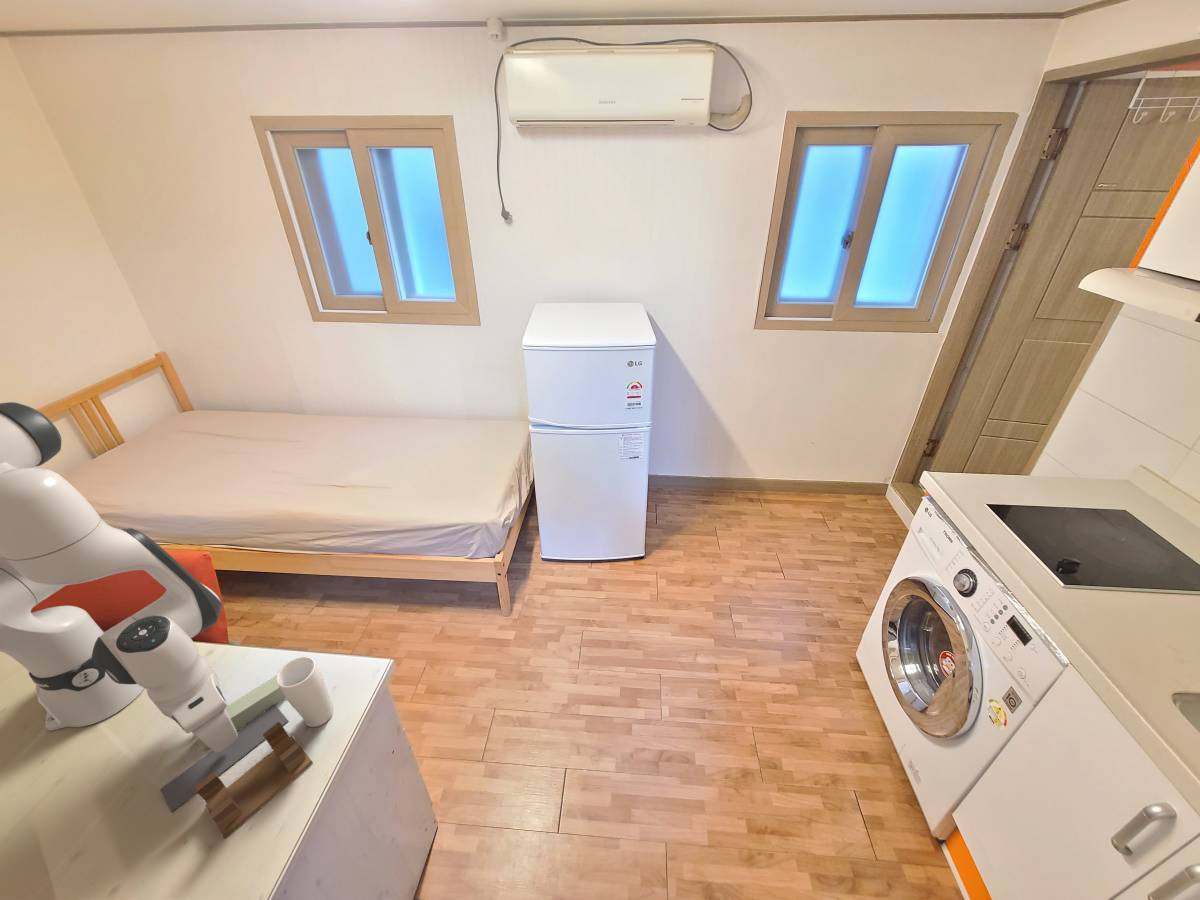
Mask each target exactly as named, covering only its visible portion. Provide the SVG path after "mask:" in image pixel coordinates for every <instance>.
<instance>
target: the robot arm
mask: <svg viewBox="0 0 1200 900" xmlns="http://www.w3.org/2000/svg"><path fill="white" fill-rule="evenodd" d="M61 449H62V436H61V434H60V432H59V430H58V428H57V427H56V426H55V424H54V423H53V421H51V420H50V419H49V418H48V417H47V416H45V414H43V413H42V412H40V411H39V410H37V409H36V408H33V407H31V406H28V405H25V404H22V403H18V402H14V401H13V402H11V401H10V402H0V652H1V653H4V654H6V655H8V656H10V657H11V659H14V660H15V661H17V663H19V664H20V665H21V666H22V667H24V668H25V669H26V670H27V671H28V676H29V677H30V678H31V681H33V683H34V684H35V690H36V692H37V693H36V699H37V701H38V703H39V704H40V705H41V706H42V707H43V708H44V709H45V710H46V711H45V713H46V714H45V723H44V727H45V728H46V730H47V731H52V732H53V731H55V730H58V729H59V730H60V729H63V728H72V727H73V728H81V727H85V726H90V725H93V724H96V723H99V722H101V721H104V720H106V719H108V718H109V717H112V716H113V715H115V714H117V713H118V712H119V711H121V710H123V709H124V708H126V707H127V706H128V705H130V704H131V703H132V702H133V701H135V699H136V698H137V697H138V696H139V695H140V694H141V693H142V691H143V690H144V689H145V690H146V693H147V696H148V698H149V699H150V701H151V702H152V703H153V704H154V705H155V706H156V708H157V709H158V710H159V711H160V713H162V714H163V716H165V717H168V718H169V719H171V720H172V721H175V722H176V723H177V724H178V726H179V727H180V728H181V729H182V730H183V731H184V732H185V733H186V734H190V733H192V734H193V736H194V735H195V736H196V737H197V738H198V739H200V740H201V741H202V742H203V743H204V744H205V745H206V746H208V747H209V748H208V749H210V750H211V751H214V752H216V753H219V752H221V751H223V750H224V749H227V748H228V747H230V746H231V745H232V744H233V743H234V742H235V741H236V740H237V738H238V733H237V732H238V730H236V729H235V727H234V725H233V722H232V720H231V718H230V716H229V714H228V712H227V710H226V708H225V707H227V706H228V703H227V700H226V698H225V697H224V695H223V693H222V691H221V686H220V685H221V684H220V679H219V676H218V675H217V672H215V670H214V669H213V667H212V666H211V665H210V663H209V662H208V660H207V659H206V658H205V657H203V656H201V655H200V654H199V649H198V646H197V645H196V644H195V642H194V641H193V639H192V638H194V637H195V636H197V635H199V634H201V633H203V632H204V631H206V630H207V629H209V628H210V627H212V626H214V625H216V624H217V623H218V620H219V618H220V615H221V612H222V608H223V604H222V602H221V600H220V597H219V596H218V595H217V594H216V593H215V592H214V591H213V590H212V589H211V588H209V587H208V586H206V584H203V583H201V582H200V581H199V580H197V578H195V577H194V576H193V575H192V574H191V573H190V572H189V571H188V570H187V569H185V567H183V565H181V564H180V562H178V561H177V560H176V559H175V558H174V557H173V556H171V555H170V554H169V553H168V552H167V551H166V550H165V549H164V548H163V547H162V546H160V545H159V544H158V543H157V542H155V541H154V540H153V539H152V538H151V537H149V536H148V535H146V534H144V533H143V532H141V531H139V530H137V529H134V528H131V527H130V528H122V529H121V528H116V527H115V526H111V525H110V524H108V523H107V522H105V521H104V519H102V517H101V516H100V515H99V513H98V512H97V511H96V509H95V507H93V505H92V504H91V503H90V502H89V501H88V500H87V499H86V498H85V496H84V495H83V494H82V493H81V492H80V491H79V490H78V489H76V488H75V486H73V485H72V484H71V483H70V482H69V481H68V480H66V479H65V478H64V477H63V476H61V474H59V473H58V472H55V471H54V470H51V469H47V468H41V467H40V466H42V465H44V464H46V463H47V462H48V461H50V460H51V459H53V458H54V457H56V455H57V454H59V452H60V451H61ZM131 571H132V572H133V571H145V572H146V573H147V574H149V576H151V577H152V578H153V579H154V580H156V581H157V582H158V583H159V584H160V585H161V586H163V587H164V588H165V589H166V590H165V592H164V593H163V594H162V596H160V597H158V599H156V600H155V601H153V602H151V603H150V604H148V605H146V606H144V607H143V608H142V609H140V610H138V611H137V612H135V613H134V614H132V615H131V616H128V617H127V618H125V619H124V620H122V621H120V622H118V623H117V624H115V625H114V626H112V627H110V628H109V629H107V630H104V629H102V628H101V627H100V626H99V625H98V624H97V623H96V622H95V620H94V619H93V618H92V616H91V615H90V614H89V613H88V612H87V611H86V610H85V609H83V608H81V607H78V606H74V605H59V606H52V607H47V608H44V609H40V610H37V611H34V612H32V609H33V608H34V607H36V606H37V605H38V604H40V603H41V602H43V601H44V600H46V599H47V598H49V597H50V596H52V595H53V594H54V595H55V593H56V592H58V591H60V590H62V588H65V587H66V586H69V585H77V584H78V585H79V584H83V583H89V582H92V581H96V580H99V579H102V578H106V577H109V576H113V575H116V574H121V573H126V572H131Z"/></svg>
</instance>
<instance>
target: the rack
mask: <svg viewBox="0 0 1200 900" xmlns="http://www.w3.org/2000/svg"><path fill="white" fill-rule="evenodd" d="M262 735H263V736H264V738H265V739H266V740H265V741H266V742H267V743H268V745H269V746H270V747H271V748H272V751H271V752H269V753H268V754H266V756H264V757H263V758H262V759H261V760H259V761H258V762H257V763H256V764H255V765H253V766H252V767H250V769H248V770H247V771H246V772H244V773H243V774H242V775H241V776H239V777H238V778H237V779H236V780H235V781H233V782H232V783H231V784H230V785H228V786H227V787H226V785H225V784H224V782H223V781H222V779H221V778H220V777H219V776H217V775H216V774H215V773H214V772H213V773H212V774H210V775H209V776H208V777H206V778H205V779H204V780H203V781H201V782H200V783H199V784H197V785H196V786H195V787H194V788H195V790H196V791H197V794H199V796H200V797H201V798H202V799H203V800H204V802H205V803H206V804H205V805H204V806H205V808H206V809H207V811H208V814H209V816H210V818H211V820H212V821H213V822H214V823H215V825H216V827H217V829H218V831H219V832H220V834H221V835H222V837H223V839H227V838H228V837H229V836H230V835H232V833H234V832H235V831H236V830H237V829H238V828H239V827H241V826H242V825H243V824H244V823H246V821H248V820H249V819H250V818H251V817H252V816H254V814H255V813H257V812H258V811H259V810H260V809H261V808H262V807H264V806H265V805H266V804H267V803H268V802H269V801H271V800H272V799H273V798H274V797H275V796H277V794H279V793H280V792H281V791H282V790H283V789H285V788H286V787H287V786H288V785H290V783H291V782H293V781H294V780H295V779H296V778H297V777H299V776H300V775H301V773H303V772H304V771H305V770H306V769H308V767H310V766H312V764H313V760H312V759H311V758H310V756H309V755H308V754H307V753H306V752H305V750H304V749H303V747H302V746H301V745H300V743H299V742H298V741H297V740H296V739H295V737H294V736H293V735H291V736H289V734H288V732H287V731H286V729H285V728H284V726H282V725H281V723H280V722H278V723H276V724H275V725H274V726H273V727H271V728H270V729H269V730H267V731H266V732H265V733H264V734H262Z"/></svg>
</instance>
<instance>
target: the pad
mask: <svg viewBox="0 0 1200 900" xmlns="http://www.w3.org/2000/svg"><path fill="white" fill-rule="evenodd" d="M278 722H280V723H281V725H282V726H283V727H284V726H285V725H286V724H288V723H289V720H288V718H287V717H286V716H285V714H283V712H282V711H281V709H280V708H279V707H278V706H277V704H274V705H273V706H271V707H270V708H269V709H267V710H266V711H265V712H263V713H262V714H260V715H258V716H257V717H255V718H254V719H252V720H251V721H249V722H248V723H246V724H245V725H244V726H242V727H241V729H240V728H239V729H238V730H237V733H238V738H237V740H236V741H235V742H234V743H233V744H232V745H231V746H230V747H228V748H227V749H224V750H223V751H221V752H219V753H216V752H214V751H212V750H211V751H210V752H208V753H207V754H206V755H204V756H203V757H202V758H200V759H199V760H198V761H196V762H195V763H193V764H192V765H190V766H189V767H188V768H187V769H185V770H184V771H182V772H181V773H180V774H178V775H177V776H176V777H174V778H173V779H172V780H170V781H169V782H168V783H167V784H166V785H164V786H162V787H161V788H160V789H159V790H160V792H161V794H162V796H163V798H164V800H165V802H166V804H167V806H168V808H169V811H170V812H171V813H174V812H175V811H176V810H177V809H179V808H181V807H182V806H183V805H184V804H186V803H187V802H188V801H189V800H190V799H192V798H193V797H194V796H196V795H197V794H198V793H197V791H196V790H195V788H194V787H195V786H196V785H197V784H199V783H200V782H201V781H203V780H204V779H205V778H206V777H208V776H209V775H210V774H212V773H213V772H214V773H215V774H216V775H217V776H218V777H219V776H221V775H222V774H224V773H225V772H226V771H227V770H229V769H230V768H231V767H233V766H234V765H235V764H236V763H238V762H239V761H241V760H242V759H243V758H244V757H245V756H247V755H248V754H249V753H250V752H252V751H253V750H254V749H256V748H257V747H259V745H261V744H262V743H263V742H264V741H267V740H266V739H265V738H264V736H263V735H262V734H264V733H265V732H266V731H267V730H269V729H270V728H271V727H273V726H274V725H275V724H276V723H278Z"/></svg>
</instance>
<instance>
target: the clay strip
mask: <svg viewBox="0 0 1200 900" xmlns="http://www.w3.org/2000/svg"><path fill="white" fill-rule="evenodd" d="M277 675H278V674H277ZM277 675H275V676H273V677H272V678H269V679H268V680H267V681H265V682H263V683H262V684H260V685H259V686H257V687H256V688H253V689H252V690H250V691H249V692H248V693H246V694H244V695H242V696H241V697H239V698H238V699H236V700H234V701H233V702H231V703H229V704H227V707H225V708H226V710H227V712H228V714H229V716H230V718H231V720H232V722H233V725H234V727H235V729H236V731H238V730H239V729H240V728H243V727H244V726H246V725H247V724H249V723H250V722H251V721H253V720H254V719H255V718H257V717H258V716H259V715H261V714H262V713H263V712H265V711H266V710H267V709H269V708H270V707H271V706H273V705H274V704H275V705H277V704H278V703H280V702H282V700H284V699H286V698H285V696H284V695H283V693H282V692H281V690H280V688H279V686H278V684H277ZM193 737H194V740H195V741H196V743H197V744H198V745H199V746H200V748H201V749H202V750H203V751H207V750H208V749H210V748H209V747H208V746H206V745H205V744H204V743H203V742H202V741H201V740H200V739H198V738H197V737H196V736H195V735H194V734H193Z"/></svg>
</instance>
